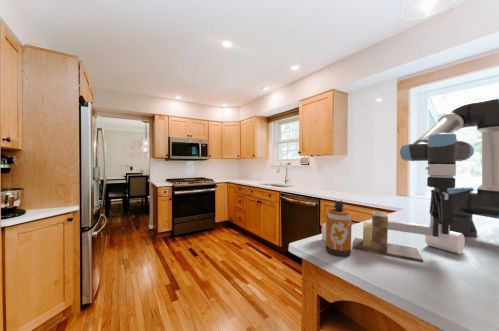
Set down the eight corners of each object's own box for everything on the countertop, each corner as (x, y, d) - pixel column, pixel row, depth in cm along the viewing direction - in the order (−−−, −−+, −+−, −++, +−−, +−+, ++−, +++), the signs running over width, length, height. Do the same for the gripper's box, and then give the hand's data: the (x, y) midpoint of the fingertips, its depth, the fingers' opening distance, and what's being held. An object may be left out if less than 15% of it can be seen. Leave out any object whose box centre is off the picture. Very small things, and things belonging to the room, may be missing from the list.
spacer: (371, 241, 90) (371, 223, 90) (371, 248, 83) (371, 228, 83) (363, 240, 91) (363, 222, 91) (362, 246, 84) (363, 226, 84)
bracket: (416, 250, 84) (417, 215, 84) (423, 262, 73) (424, 222, 73) (355, 239, 95) (355, 208, 95) (353, 248, 84) (353, 213, 84)
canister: (325, 254, 78) (326, 201, 78) (325, 244, 88) (326, 197, 88) (352, 259, 75) (353, 203, 75) (349, 247, 85) (350, 198, 85)
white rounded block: (457, 256, 79) (457, 235, 79) (424, 247, 87) (425, 228, 87) (467, 250, 85) (468, 230, 85) (436, 241, 93) (436, 224, 93)
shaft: (444, 235, 77) (444, 216, 76) (447, 238, 73) (448, 218, 73) (380, 226, 86) (380, 209, 86) (380, 228, 83) (380, 211, 83)
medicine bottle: (346, 243, 89) (346, 215, 89) (332, 245, 87) (332, 216, 87) (334, 237, 96) (335, 211, 96) (321, 239, 94) (322, 212, 94)
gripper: (421, 174, 87) (419, 228, 87) (435, 177, 68) (433, 246, 68) (445, 175, 83) (443, 231, 83) (467, 178, 64) (465, 251, 64)
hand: (439, 238), depth 76 cm, fingers open, 9 cm apart
